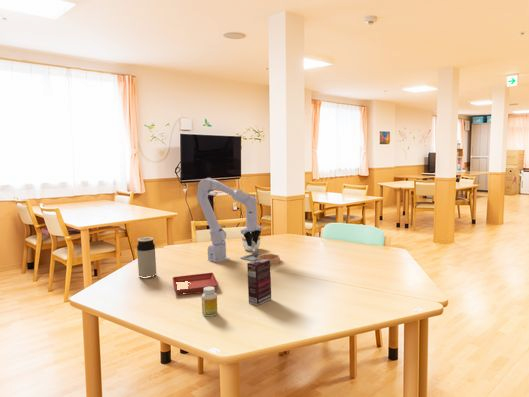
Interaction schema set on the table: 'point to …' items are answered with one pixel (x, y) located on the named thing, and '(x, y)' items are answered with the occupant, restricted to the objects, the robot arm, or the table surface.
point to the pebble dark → (255, 253)
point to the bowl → (270, 258)
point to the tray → (250, 257)
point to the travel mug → (146, 257)
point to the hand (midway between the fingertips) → (252, 245)
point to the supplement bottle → (209, 301)
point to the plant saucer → (195, 282)
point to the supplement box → (259, 281)
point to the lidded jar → (249, 246)
